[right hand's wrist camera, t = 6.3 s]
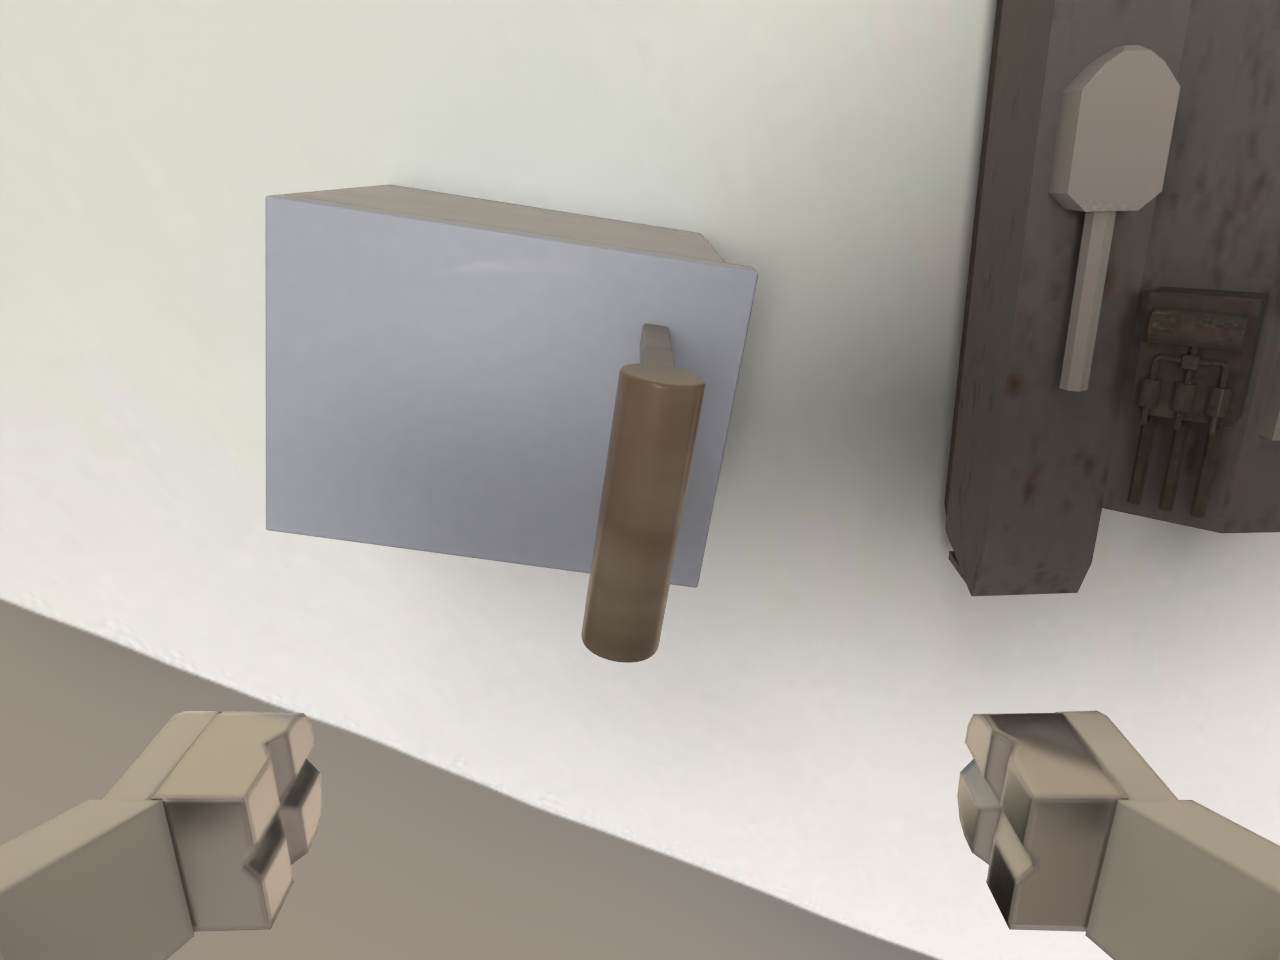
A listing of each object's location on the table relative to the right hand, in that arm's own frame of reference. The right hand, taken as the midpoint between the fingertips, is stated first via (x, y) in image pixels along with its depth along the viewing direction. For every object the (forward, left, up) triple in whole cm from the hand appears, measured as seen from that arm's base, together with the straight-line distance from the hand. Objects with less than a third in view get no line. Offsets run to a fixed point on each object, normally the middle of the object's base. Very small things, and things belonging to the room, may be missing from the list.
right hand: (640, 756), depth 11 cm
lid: (+4, -1, -15) cm, 16 cm away
